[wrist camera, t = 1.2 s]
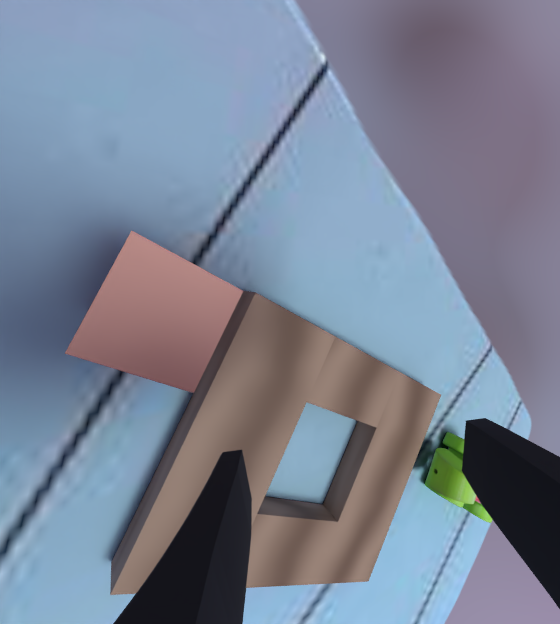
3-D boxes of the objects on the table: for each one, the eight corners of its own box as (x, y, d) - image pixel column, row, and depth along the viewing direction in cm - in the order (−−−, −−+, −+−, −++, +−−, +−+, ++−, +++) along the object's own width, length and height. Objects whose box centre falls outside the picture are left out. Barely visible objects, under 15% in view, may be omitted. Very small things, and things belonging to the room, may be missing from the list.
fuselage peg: (90, 315, 15) (64, 353, 8) (126, 248, 16) (131, 230, 9) (164, 343, 17) (193, 393, 10) (194, 283, 18) (243, 291, 11)
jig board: (111, 562, 17) (110, 594, 15) (243, 290, 19) (255, 292, 17) (352, 561, 28) (368, 581, 26) (422, 387, 30) (441, 394, 28)
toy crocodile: (494, 463, 40) (551, 493, 35) (475, 510, 39) (530, 547, 34) (424, 415, 31) (487, 445, 25) (396, 474, 30) (456, 518, 24)
